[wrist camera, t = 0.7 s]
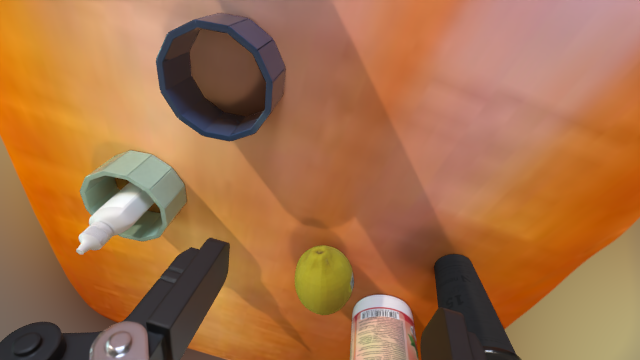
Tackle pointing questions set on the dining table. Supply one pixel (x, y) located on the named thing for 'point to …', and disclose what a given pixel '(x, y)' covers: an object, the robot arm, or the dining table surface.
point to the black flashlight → (471, 304)
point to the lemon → (323, 279)
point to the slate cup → (188, 96)
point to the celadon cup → (144, 175)
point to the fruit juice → (382, 330)
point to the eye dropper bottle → (115, 217)
